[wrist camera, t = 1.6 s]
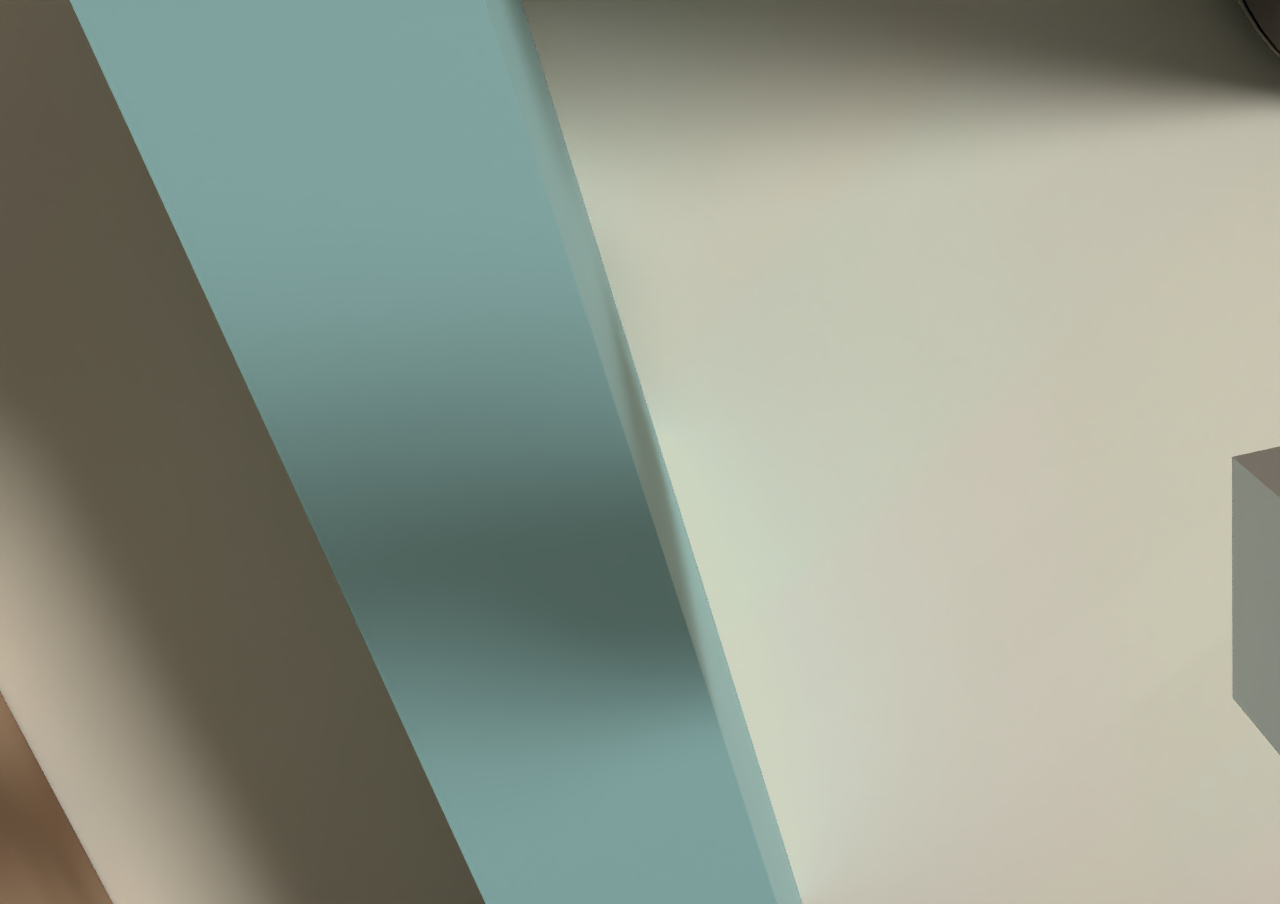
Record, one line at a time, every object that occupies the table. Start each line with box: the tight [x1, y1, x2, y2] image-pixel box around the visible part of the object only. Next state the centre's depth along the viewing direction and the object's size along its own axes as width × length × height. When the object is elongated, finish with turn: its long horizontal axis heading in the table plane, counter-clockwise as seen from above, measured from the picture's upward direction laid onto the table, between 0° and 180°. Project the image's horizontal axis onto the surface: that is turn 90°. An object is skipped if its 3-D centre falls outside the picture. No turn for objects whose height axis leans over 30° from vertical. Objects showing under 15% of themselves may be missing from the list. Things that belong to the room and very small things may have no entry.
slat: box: [70, 0, 802, 904], centre depth 15 cm, size 18×3×6 cm, turn 16°
